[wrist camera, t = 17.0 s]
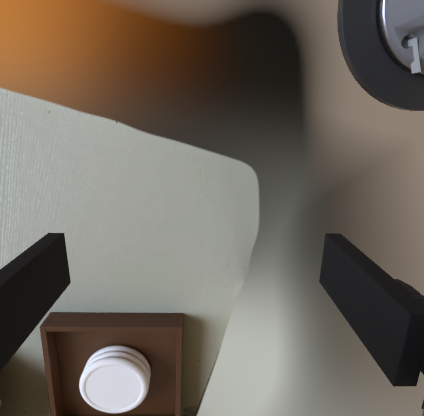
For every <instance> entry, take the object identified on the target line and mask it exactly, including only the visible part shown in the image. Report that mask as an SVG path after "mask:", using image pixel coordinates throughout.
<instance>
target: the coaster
mask: <svg viewBox="0 0 424 416" xmlns="http://www.w3.org/2000/svg"><path fill="white" fill-rule="evenodd" d="M150 377H151V370H150V365H149V363H148V361H147V359H146V358H145V357H144V356H143V355H142V354H141V353H140V352H138V351H137V350H135V349H133V348H130V347H126V346H120V345H114V346H108V347H104V348H102V349H100V350H98V351H96V352H95V353H94V354H93V355H92V356H91V357H90V358H89V360H88V361H87V363H86V366H85V368H84V370H83V373H82V375H81V377H80V382H79V389H80V393H81V395H82V397H83V399H84V400H85V401H86V402H87V403H88V404H89V405H90V406H92V407H93V408H95V409H97V410H99V411H102V412H106V413H122V412H127V411H129V410H132V409H134V408H135V407H137V406H138V405H140V404H141V403H142V401H143V400H144V399H145V397H146V395H147V393H148V389H149V383H150Z"/></svg>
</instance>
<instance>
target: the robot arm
mask: <svg viewBox="0 0 424 416" xmlns="http://www.w3.org/2000/svg"><path fill="white" fill-rule="evenodd" d="M376 24H377V30H378V35H379V38H380V41H381V43H382V46H383V48H384V50H385V51H386V53H387V55H388V56H389V57H390V59H391V60H392V61H393V62H394V63H395V64H396V65H397V66H399V67H400V68H402V69H403V70H405V71H407V72H409V73H411V74H414V75H418V76H424V0H377V4H376ZM319 282H320V283H321V285H322V286H323V288H324V289H325V290H326V292H327V293H328V295H329V296H330V297H331V299H332V300H333V302H334V303H335V304H336V306H337V307H338V309H339V310H340V312H341V313H342V314H343V316H344V317H345V319H346V320H347V321H348V323H349V324H350V326H351V327H352V329H353V330H354V331H355V333H356V334H357V336H358V337H359V338H360V340H361V341H362V343H363V344H364V346H365V347H366V348H367V350H368V351H369V353H370V354H371V355H372V357H373V358H374V360H375V361H376V362H377V364H378V365H379V367H380V368H381V370H382V371H383V372H384V374H385V375H386V377H387V378H388V379H389V381H390V382H391V384H392V385H393V386H416V385H417V381H418V377H419V373H420V371H421V372H422V373H423V374H424V296H423V295H421V294H420V293H419V292H418V291H417V290H415V289H414V288H413V287H412V286H410V285H408V284H406V283H404V282H402V281H401V280H399V279H393V278H392V277H391V276H390V275H388V274H387V273H386V272H385V271H383V270H382V269H381V268H380V267H379V266H378V265H377V264H375V263H374V262H373V261H372V260H371V259H370V258H368V257H367V256H366V255H365V254H364V253H362V252H361V251H360V250H359V249H358V248H357V247H355V246H354V245H353V244H352V243H350V241H348V240H347V239H346V238H345V237H344V236H343V235H341V234H326V235H325V242H324V250H323V257H322V265H321V273H320V281H319ZM70 283H71V282H70V275H69V267H68V260H67V252H66V245H65V237H64V233H48V234H46V235H45V236H44V237H43V238H41V239H40V240H39V241H37V242H36V243H35V244H33V245H32V246H31V247H29V248H28V249H27V250H25V251H24V252H23V253H22V254H20V255H19V256H18V257H16V258H15V259H14V260H12V261H11V262H10V263H8V264H7V265H6V266H4V267H3V268H2V269H1V270H0V371H1V370H2V369H3V368H4V366H5V365H6V364H7V363H8V361H9V360H10V359H11V357H12V356H13V355H14V354H15V352H16V351H17V350H18V349H19V347H20V346H21V345H22V344H23V342H24V341H25V340H26V338H27V337H28V336H29V335H30V333H31V332H32V331H33V330H34V328H35V327H36V326H37V325H38V323H39V322H40V321H41V319H42V318H43V317H44V316H45V314H46V313H47V312H48V311H49V309H50V308H51V307H52V306H53V304H54V303H55V302H56V300H57V299H58V298H59V297H60V295H61V294H62V293H63V292H64V290H65V289H66V288H67V287H68V285H69V284H70ZM422 409H424V401H423V404H422ZM423 416H424V410H423Z"/></svg>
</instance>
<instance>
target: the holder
mask: <svg viewBox="0 0 424 416" xmlns="http://www.w3.org/2000/svg"><path fill="white" fill-rule="evenodd" d="M40 333H41V340H42V348H43V356H44V364H45V371H46V379H47V387H48V395H49V402H50V410H51V416H181V391H182V351H183V313H56V312H51V313H50V314H49V315H48V316H47V318H46V319H45V320H44V322H43V323H42V324H41V326H40ZM114 345H120V346H126V347H130V348H133V349H135V350H137V351H138V352H140V353H141V354H142V355H143V356H144V357H145V358H146V359H147V361H148V363H149V365H150V370H151V377H150V383H149V389H148V393H147V395H146V397H145V399H144V400H143V401H142V403H141V404H140V405H138V406H137V407H135V408H134V409H132V410H129V411H127V412H122V413H106V412H102V411H99V410H97V409H95V408H93V407H92V406H90V405H89V404H88V403H87V402H86V401H85V400H84V399H83V397H82V395H81V393H80V389H79V382H80V377H81V375H82V373H83V370H84V368H85V366H86V363H87V361H88V360H89V358H90V357H91V356H92V355H93V354H94V353H95V352H96V351H98V350H100V349H102V348H104V347H108V346H114Z"/></svg>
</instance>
